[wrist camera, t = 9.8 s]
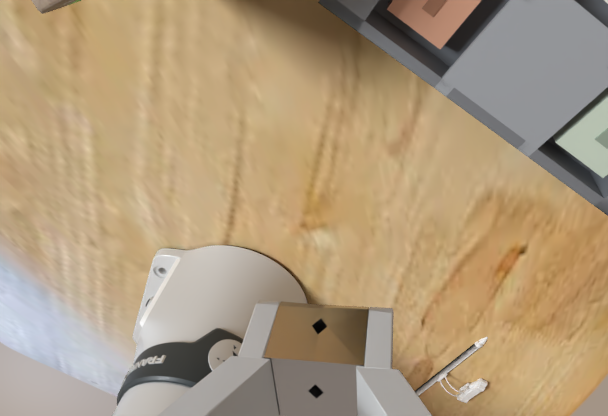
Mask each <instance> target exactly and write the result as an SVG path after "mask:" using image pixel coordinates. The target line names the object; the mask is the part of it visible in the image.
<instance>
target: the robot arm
mask: <svg viewBox="0 0 608 416" xmlns="http://www.w3.org/2000/svg"><path fill="white" fill-rule="evenodd" d="M133 340H134V341H135V342H136V344H137V348H136V353H135V357H134V363H133V366H132V368H130V370H129V371H128V373H127V375H126V377H125V378H124V380H123V383H122V386H121V389H120V391H119V393H118V397H117V407H116V409H115V411H114V413H113V415H112V416H432V415H431V413H430V412H429V411H428V409H427V408H426V406H425V405H424V404H423V402H422V401H421V399H420V398H419V397H418V395H417V394H416V392H415V391H414V390H413V388H412V387H411V386H410V384H409V383H408V381H407V380H406V379H405V377H404V376H403V374H402V373H401V372H400V370H397V369H392V349H393V309H392V308H377V307H370V308H369V307H356V306H337V305H317V304H308V303H307V300H306V297H305V294H304V292H303V290H302V288H301V287H300V285H299V284H298V282H297V281H296V280H295V279H294V277H293V276H292V275H291V274H290V273H289V272H288V271H287V270H285V269H284V268H283V267H282V266H280V265H279V264H278V263H276V262H274V261H273V260H271V259H269V258H268V257H266V256H264V255H261V254H259V253H257V252H254V251H251V250H248V249H244V248H240V247H235V246H226V245H215V246H207V247H202V248H198V249H194V250H179V249H170V248H163V249H160V250H158V251H157V252H156V255H155V257H154V259H153V262H152V265H151V269H150V273H149V276H148V280H147V284H146V287H145V291H144V295H143V298H142V302H141V306H140V309H139V313H138V317H137V321H136V324H135V328H134V332H133Z"/></svg>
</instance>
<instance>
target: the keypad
mask: <svg viewBox="0 0 608 416" xmlns="http://www.w3.org/2000/svg"><path fill="white" fill-rule="evenodd" d="M389 2H390V0H320V1H319V2H318V3H320V4H321V5H322V6H324V7H325V8H326V9H328V10H329V11H330V12H332V13H333V14H335V15H336V16H337V17H339V18H340V19H341V20H343V21H344V22H345V23H347V24H348V25H350V26H351V27H352V28H354V29H355V30H356V31H358V32H359V33H360V34H362V35H363V36H364V37H366V38H367V39H369V40H370V41H371V42H373V43H374V44H375V45H377V46H378V47H379V48H381V49H382V50H383V51H385V52H386V53H388V54H389V55H390V56H392V57H393V58H394V59H396V60H397V61H398V62H400V63H401V64H403V65H404V66H405V67H407V68H408V69H409V70H411V71H412V72H413V73H415V74H416V75H417V76H419V77H420V78H422V79H423V80H424V81H426V82H427V83H428V84H430V85H431V86H432V87H434V88H435V89H436V90H438V91H439V92H441V93H442V94H443V95H445V96H446V97H447V98H449V99H450V100H451V101H453V102H454V103H456V104H457V105H458V106H460V107H461V108H462V109H464V110H465V111H466V112H468V113H469V114H470V115H472V116H473V117H475V118H476V119H477V120H479V121H480V122H481V123H483V124H484V125H485V126H487V127H488V128H489V129H491V130H492V131H494V132H495V133H496V134H498V135H499V136H500V137H502V138H503V139H504V140H506V141H507V142H508V143H510V144H511V145H513V146H514V147H515V148H517V149H518V150H519V151H521V152H522V153H523V154H525V155H526V156H528V157H529V158H530V159H532V160H533V161H534V162H536V163H537V164H538V165H540V166H541V167H542V168H544V169H545V170H547V171H548V172H549V173H551V174H552V175H553V176H555V177H556V178H557V179H559V180H560V181H561V182H563V183H564V184H566V185H567V186H568V187H570V188H571V189H572V190H574V191H575V192H576V193H578V194H579V195H581V196H582V197H583V198H585V199H586V200H587V201H589V202H590V203H591V204H593V205H594V206H595V207H597V208H598V209H600V210H601V211H602V212H604V213H605V214H606V215H608V175H607V176H605V177H604V178H602V177H601V176H599V175H598V174H597V173H595V172H594V171H593V170H591V169H590V168H589V167H587V166H586V165H585V164H583V163H582V162H581V161H579V160H578V159H577V158H575V157H574V156H573V155H571V154H570V153H569V152H567V151H566V150H565V149H563V148H562V147H561V146H559V145H558V144H557V143H556V142H555V140H554V138H553V135H554V134H555V133H556V132H557V131H558V130H559V129H561V128H562V127H563V126H564V125H565V124H566V123H567V122H569V121H570V120H571V119H572V118H573V117H574V116H575V115H576V114H578V113H579V112H580V111H581V110H582V109H583V108H584V107H586V106H587V105H588V104H589V103H590V102H591V101H592V100H594V99H595V98H596V97H597V96H598V95H599V94H600V93H601V92H603V91H604V90H605V89H606V88H607V87H608V4H607V3H606V2H605V1H604V0H481V2H480V3H479V4H478V5H477V6H476V8H475V9H474V10H473V11H472V12H471V14H470V15H469V16H468V17H467V18H466V20H465V21H464V22H463V23H462V24H461V25H460V27H459V28H458V29H457V30H456V31H455V33H454V34H453V35H452V36H451V37H450V39H449V40H448V41H447V42H446V43H445V44H444V46H443V47H442V48H441V49H439V48H437V47H436V46H435V45H433V44H432V43H431V42H429V41H428V40H427V39H425V38H424V37H423V36H421V35H420V34H419V33H417V32H416V31H415V30H413V29H412V28H411V27H409V26H408V25H407V24H405V23H404V22H403V21H402V20H400V19H399V18H398V17H396V16H395V15H394V14H392V13H391V12H390V11H388V10H387V6H388V3H389Z"/></svg>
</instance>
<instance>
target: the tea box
mask: <svg viewBox="0 0 608 416" xmlns="http://www.w3.org/2000/svg"><path fill="white" fill-rule="evenodd" d="M78 1H81V0H32V2H33V3H34V5H35V6H36V8H37V9H38V10H39V11H40V12H41V13H42V14H43V13H46V12H49V11H53V10H56V9H58V8H61V7H64V6H67V5H70V4H73V3H75V2H78Z"/></svg>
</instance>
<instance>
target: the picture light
mask: <svg viewBox="0 0 608 416" xmlns="http://www.w3.org/2000/svg"><path fill="white" fill-rule="evenodd" d="M487 339H488V337H486V338H482V339H480V340H479V342H478V341H476V342H475V344H473V345H472V346H471V347H470V348H468V349H467V350H466V351H465V352H463V353H462V354H461V355H460V356H458V357H457V358H456V359H455V360H453V361H452V362H451V363H450V364H448V365H447V366H446V367H445V368H443V369H442V370H441V371H440V372H438V373H437V374H436V375H435V376H433V377H432V378H431V379H430V380H428V381H427V382H426V383H425V384H423V385H422V386H421V387H420V388H418V389H417V390H416V391H415V392H416V394H417V395H418V396H419V395H420V394H421V393H423V392H424V391H425V390H427V389H428V388H429V387H430V386H432V385H433V384H434V383H435V382H437V381H438V382H439V381H440V383H441V385H442V382H441V380H442V379H443V378H444V377H445V379H446V381H447V378H446V376H447V373H448V372H449V371H451V370H452V369H453V368H455V367H456V366H457V365H458V364H460V363H461V362H462V361H463V360H465V359H466V358H467V357H469V356H470V355H471V354H472V353H474V352H475V351H476V350H477V349H479V348H481V347H482V346H483V344H485V342H486V341H487ZM447 383H448V384H449V382H448V381H447ZM487 383H488V382H487V381H486V380H484V379H482V378H480V379H478V380H477V381H474V382H472V383H467V384H465V385H464V386H463V387H461V388H460V389H459V390H460V391H458V390H456V389H454V388H453V387H452V386H451V385H450V384H449V386H450V387H451V388H452V389H454V390H455V391H457V392H460V393H459V394H458V395H453V394H451V393H449V392H448V391H447V390H446V389H445V388H444V386H443V385H442V387H443V388H444V390H445V391H446V392H447V393H449V394H450V395H452V396H457V399H458V400H460V401H462V402H465V403H467V402H468V401H469V400H470V399H471V398H473V397H474V396H475V395H477V394H478V393H480V392H482V391H484V390H485V387H486V386H487Z"/></svg>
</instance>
